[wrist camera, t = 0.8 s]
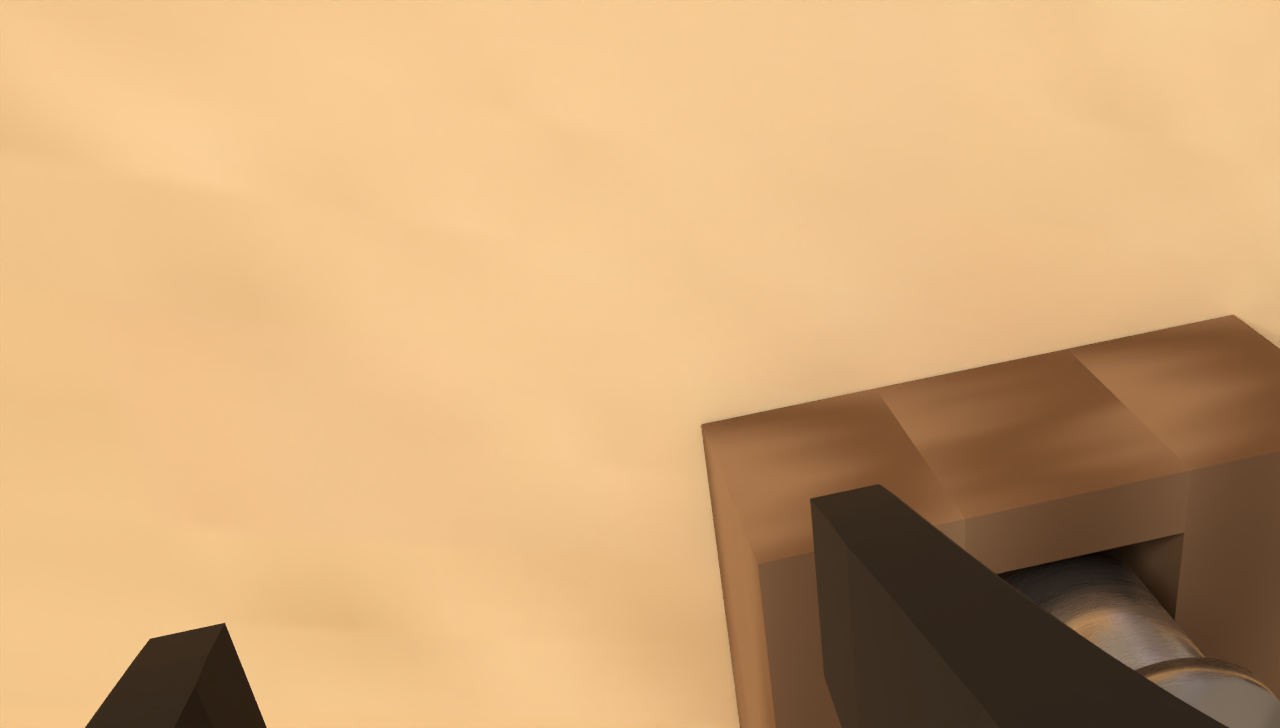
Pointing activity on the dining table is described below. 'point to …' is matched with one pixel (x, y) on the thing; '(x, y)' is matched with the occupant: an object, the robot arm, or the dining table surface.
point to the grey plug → (1144, 636)
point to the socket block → (1019, 492)
